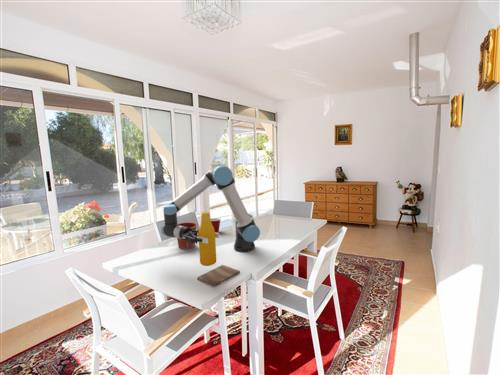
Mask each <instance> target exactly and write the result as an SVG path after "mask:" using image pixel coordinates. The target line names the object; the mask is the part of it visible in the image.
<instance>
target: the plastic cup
mask: <svg viewBox="0 0 500 375" xmlns="http://www.w3.org/2000/svg"><path fill="white" fill-rule="evenodd" d="M210 219H211V223H212V225H213V227H214V230H215V232H216V233H219V231H220V227H221V226H220V224H221V220H222V218H219V217H218V218H217V217H214V218H210Z"/></svg>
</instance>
